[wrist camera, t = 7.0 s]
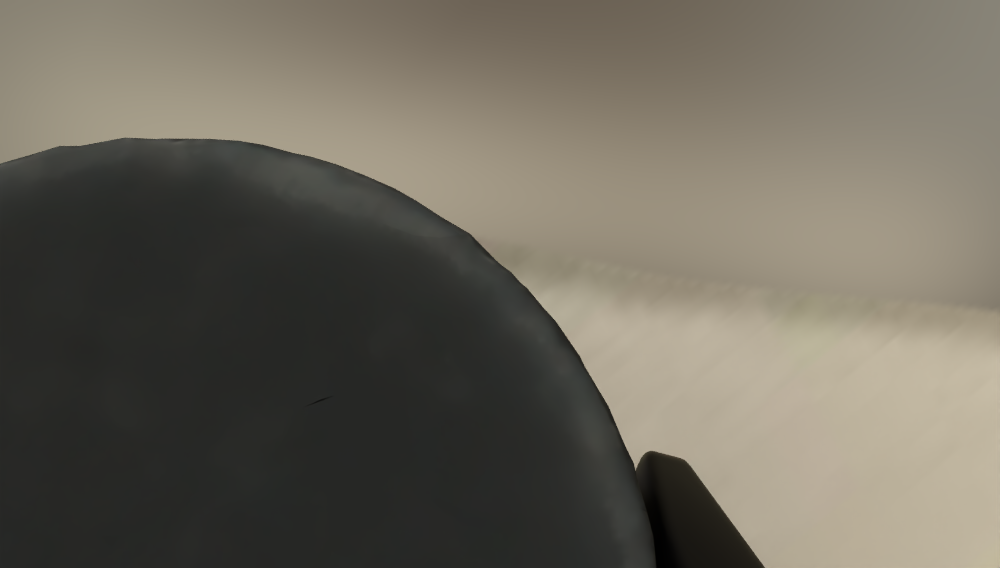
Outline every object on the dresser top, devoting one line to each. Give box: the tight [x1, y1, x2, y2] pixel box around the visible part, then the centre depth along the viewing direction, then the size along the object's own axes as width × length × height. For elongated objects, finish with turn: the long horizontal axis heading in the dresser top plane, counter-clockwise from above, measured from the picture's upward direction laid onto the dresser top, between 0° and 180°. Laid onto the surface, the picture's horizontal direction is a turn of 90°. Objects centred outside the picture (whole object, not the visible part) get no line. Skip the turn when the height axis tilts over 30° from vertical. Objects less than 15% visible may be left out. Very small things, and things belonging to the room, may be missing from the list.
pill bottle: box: [0, 138, 656, 568], centre depth 8 cm, size 6×6×11 cm
